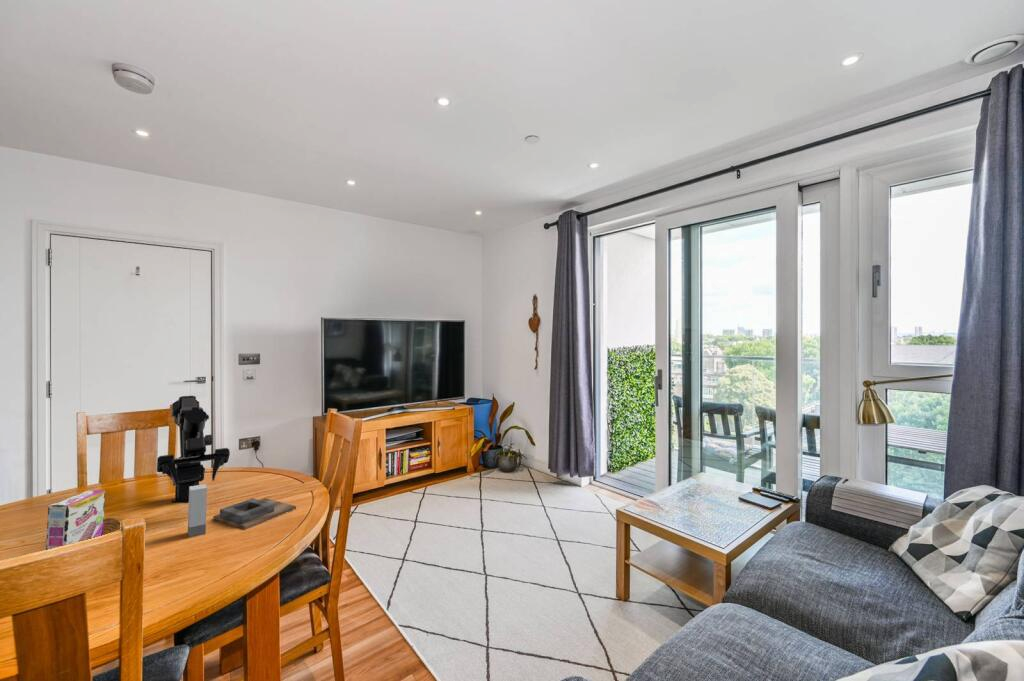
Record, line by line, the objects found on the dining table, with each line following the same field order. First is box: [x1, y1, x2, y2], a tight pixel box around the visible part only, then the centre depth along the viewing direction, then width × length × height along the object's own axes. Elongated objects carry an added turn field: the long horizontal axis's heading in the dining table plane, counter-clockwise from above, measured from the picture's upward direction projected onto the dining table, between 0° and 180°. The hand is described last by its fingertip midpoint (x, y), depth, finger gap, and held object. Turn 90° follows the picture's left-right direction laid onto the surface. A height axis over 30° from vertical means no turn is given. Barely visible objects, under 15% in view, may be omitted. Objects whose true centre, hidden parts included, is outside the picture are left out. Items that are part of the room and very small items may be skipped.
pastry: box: [103, 517, 121, 535], centre depth 125 cm, size 9×7×4 cm
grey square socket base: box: [212, 497, 297, 530], centre depth 143 cm, size 16×18×4 cm
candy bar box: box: [45, 490, 106, 551], centre depth 112 cm, size 11×5×16 cm, turn 5°
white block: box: [187, 483, 208, 538], centre depth 128 cm, size 4×4×14 cm
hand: (195, 483), depth 134 cm, fingers open, 9 cm apart
